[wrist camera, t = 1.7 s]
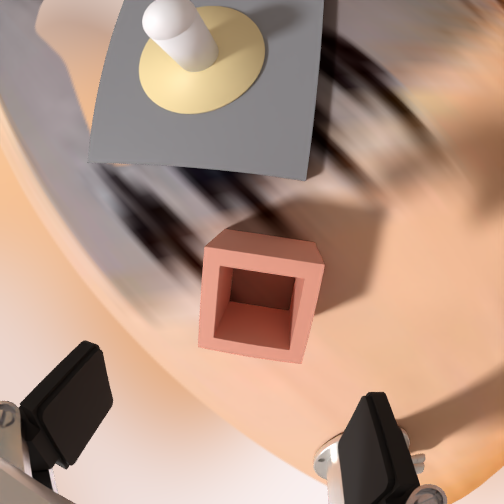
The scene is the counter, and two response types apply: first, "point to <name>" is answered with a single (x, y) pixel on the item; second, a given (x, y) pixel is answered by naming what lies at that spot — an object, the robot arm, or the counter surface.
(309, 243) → the collar
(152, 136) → the post board
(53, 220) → the counter surface
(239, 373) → the counter surface
